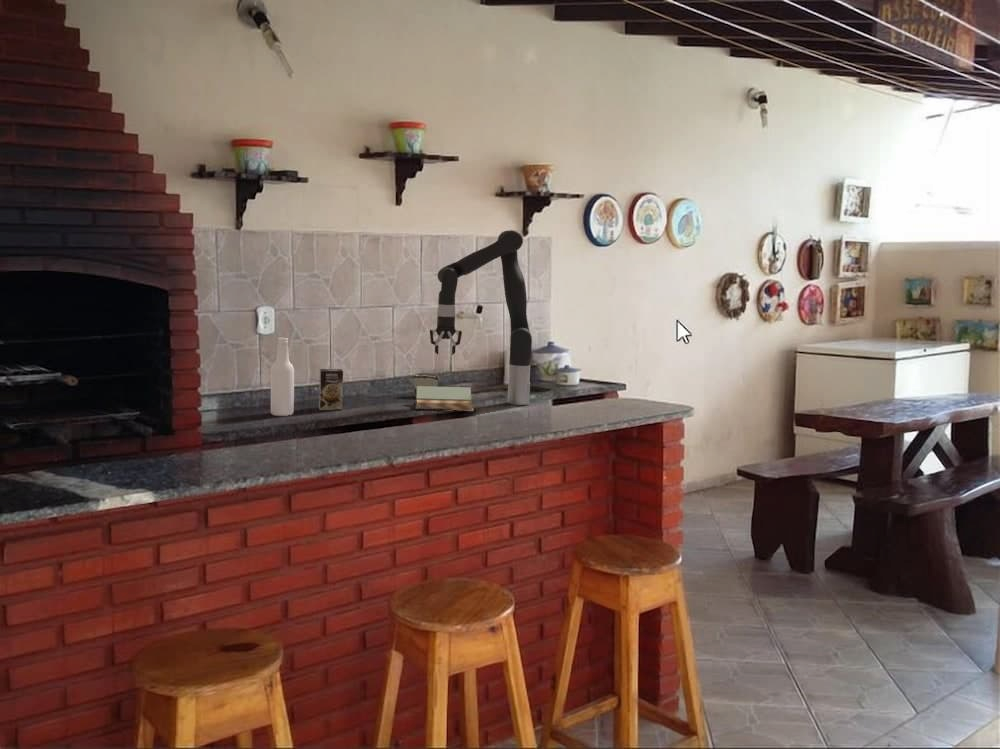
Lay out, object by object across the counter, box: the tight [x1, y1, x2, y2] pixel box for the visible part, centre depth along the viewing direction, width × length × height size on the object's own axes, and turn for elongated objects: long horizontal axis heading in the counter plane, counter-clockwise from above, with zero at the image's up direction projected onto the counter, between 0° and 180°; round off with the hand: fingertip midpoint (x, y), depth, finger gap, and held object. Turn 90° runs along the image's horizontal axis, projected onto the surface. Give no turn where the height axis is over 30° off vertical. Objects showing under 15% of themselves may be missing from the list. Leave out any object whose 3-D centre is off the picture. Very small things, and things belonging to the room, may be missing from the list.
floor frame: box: [416, 399, 475, 412], centre depth 398 cm, size 24×16×3 cm, turn 96°
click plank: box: [416, 386, 472, 402], centre depth 401 cm, size 23×8×2 cm
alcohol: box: [270, 336, 295, 417], centre depth 366 cm, size 9×9×30 cm
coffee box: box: [318, 368, 344, 411], centre depth 382 cm, size 9×6×16 cm
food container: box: [411, 372, 440, 398], centre depth 421 cm, size 12×6×10 cm, turn 84°
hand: (444, 354), depth 401 cm, fingers open, 6 cm apart
